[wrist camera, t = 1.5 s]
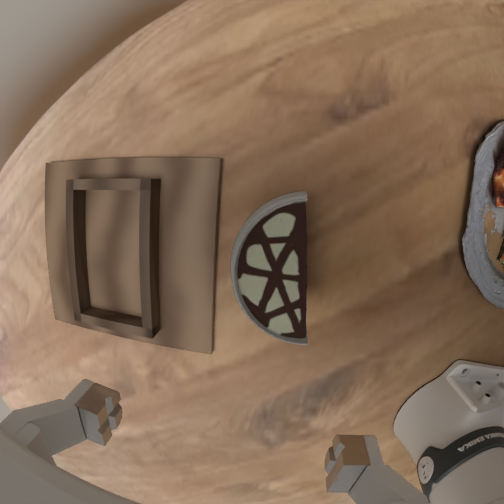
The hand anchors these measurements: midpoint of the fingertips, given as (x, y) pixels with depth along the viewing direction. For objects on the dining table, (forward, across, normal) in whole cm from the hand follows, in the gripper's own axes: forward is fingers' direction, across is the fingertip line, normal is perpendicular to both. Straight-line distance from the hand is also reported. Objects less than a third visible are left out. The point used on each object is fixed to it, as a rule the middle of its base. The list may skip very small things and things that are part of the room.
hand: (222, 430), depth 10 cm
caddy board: (+24, +17, +2) cm, 29 cm away
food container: (+24, -1, -2) cm, 24 cm away
